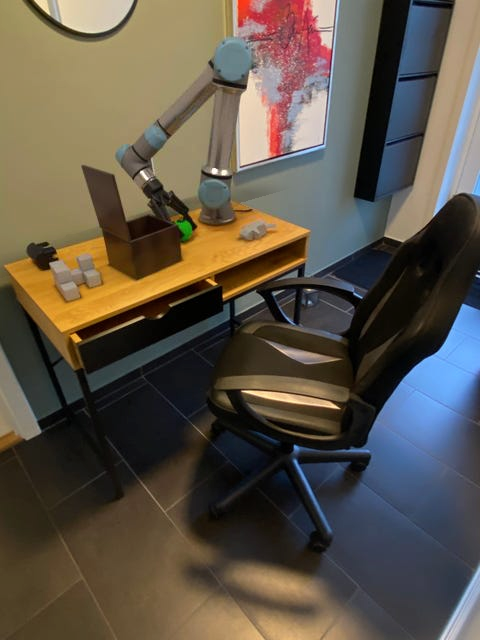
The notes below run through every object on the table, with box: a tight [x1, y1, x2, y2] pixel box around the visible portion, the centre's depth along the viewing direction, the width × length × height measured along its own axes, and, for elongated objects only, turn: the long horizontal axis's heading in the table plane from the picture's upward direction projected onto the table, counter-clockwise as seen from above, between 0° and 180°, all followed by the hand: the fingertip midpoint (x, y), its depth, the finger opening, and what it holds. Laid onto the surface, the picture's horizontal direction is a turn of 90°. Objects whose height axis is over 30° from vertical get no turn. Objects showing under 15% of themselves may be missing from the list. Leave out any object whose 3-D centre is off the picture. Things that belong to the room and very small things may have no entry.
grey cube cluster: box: [49, 252, 103, 302], centre depth 121 cm, size 12×12×8 cm
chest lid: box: [80, 164, 131, 241], centre depth 118 cm, size 20×16×1 cm
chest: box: [101, 213, 183, 281], centre depth 134 cm, size 19×16×13 cm
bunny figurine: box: [238, 218, 277, 242], centre depth 155 cm, size 10×5×15 cm
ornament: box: [174, 214, 193, 242], centre depth 150 cm, size 8×8×10 cm
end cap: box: [25, 241, 60, 270], centre depth 135 cm, size 10×7×7 cm
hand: (189, 233), depth 150 cm, fingers closed on ornament, 8 cm apart
